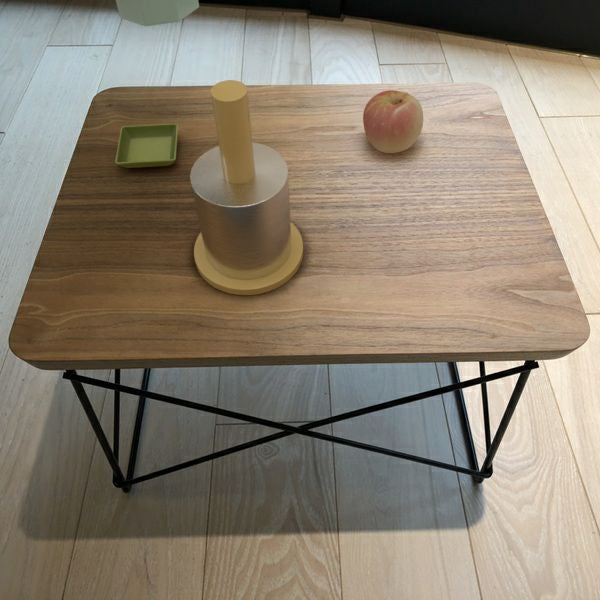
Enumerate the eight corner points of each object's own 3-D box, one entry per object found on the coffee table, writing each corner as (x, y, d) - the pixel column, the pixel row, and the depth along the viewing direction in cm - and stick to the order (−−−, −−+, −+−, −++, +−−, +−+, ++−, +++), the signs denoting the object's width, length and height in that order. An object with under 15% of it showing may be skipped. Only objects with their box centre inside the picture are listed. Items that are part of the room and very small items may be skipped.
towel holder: (173, 267, 78) (127, 106, 59) (235, 201, 85) (213, 38, 66) (264, 312, 74) (247, 153, 55) (323, 238, 81) (325, 75, 62)
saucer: (181, 133, 95) (178, 122, 93) (178, 171, 89) (175, 160, 88) (124, 137, 94) (120, 126, 93) (118, 174, 89) (114, 163, 87)
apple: (363, 163, 90) (367, 117, 83) (359, 126, 95) (362, 80, 89) (422, 162, 90) (431, 116, 83) (415, 124, 95) (422, 78, 89)
